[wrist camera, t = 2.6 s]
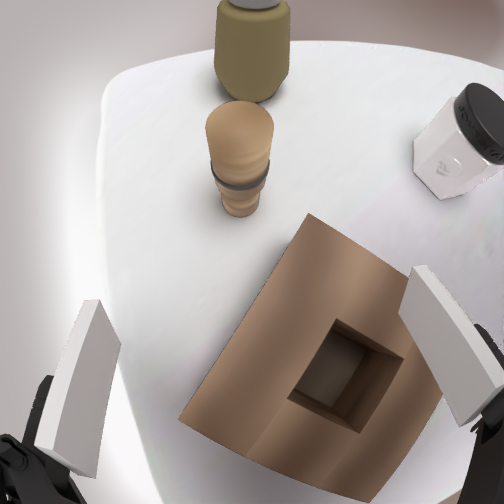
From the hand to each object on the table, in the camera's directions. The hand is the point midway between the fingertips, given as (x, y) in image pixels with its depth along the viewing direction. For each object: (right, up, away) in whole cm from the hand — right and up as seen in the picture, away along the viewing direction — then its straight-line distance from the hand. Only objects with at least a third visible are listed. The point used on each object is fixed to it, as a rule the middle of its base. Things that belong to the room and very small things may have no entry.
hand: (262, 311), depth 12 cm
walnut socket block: (+6, -8, +13) cm, 16 cm away
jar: (+22, +12, +18) cm, 31 cm away
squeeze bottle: (-1, +22, +20) cm, 29 cm away
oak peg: (-1, +7, +16) cm, 18 cm away
